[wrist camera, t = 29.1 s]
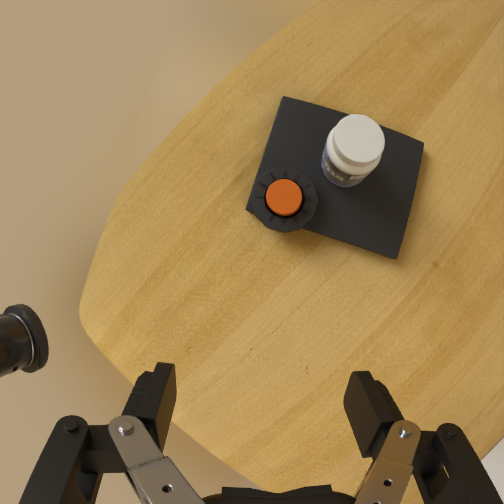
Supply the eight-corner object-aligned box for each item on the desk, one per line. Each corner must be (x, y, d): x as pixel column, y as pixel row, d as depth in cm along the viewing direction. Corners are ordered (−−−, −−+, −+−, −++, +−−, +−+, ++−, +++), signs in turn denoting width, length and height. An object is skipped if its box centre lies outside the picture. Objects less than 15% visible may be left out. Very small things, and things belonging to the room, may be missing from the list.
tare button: (263, 210, 29) (261, 208, 28) (273, 178, 29) (272, 174, 28) (296, 220, 29) (295, 218, 27) (305, 188, 29) (306, 184, 27)
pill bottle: (312, 153, 30) (317, 121, 21) (353, 136, 29) (370, 101, 21) (334, 195, 29) (347, 177, 21) (375, 177, 29) (400, 154, 20)
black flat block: (244, 221, 32) (238, 218, 29) (283, 101, 31) (281, 88, 28) (389, 268, 30) (398, 270, 27) (420, 146, 29) (429, 138, 26)
